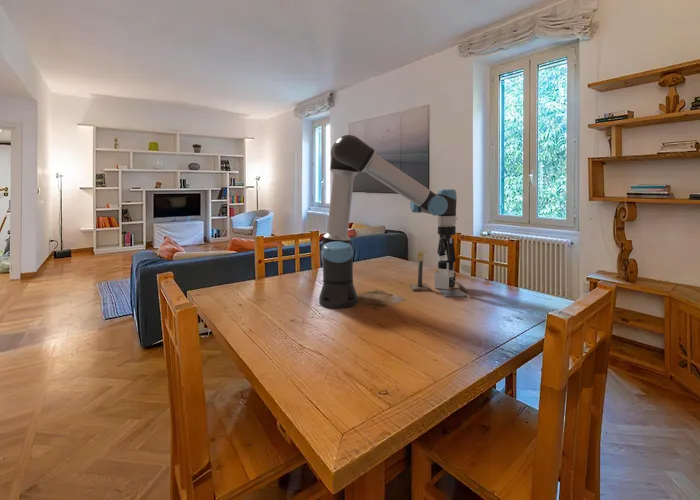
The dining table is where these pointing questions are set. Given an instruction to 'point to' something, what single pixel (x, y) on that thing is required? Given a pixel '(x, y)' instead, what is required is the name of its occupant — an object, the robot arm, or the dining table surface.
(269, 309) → the dining table surface
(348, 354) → the dining table surface
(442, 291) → the coaster
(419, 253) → the key
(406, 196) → the robot arm
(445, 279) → the medicine bottle
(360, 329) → the dining table surface
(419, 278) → the holder
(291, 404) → the dining table surface
